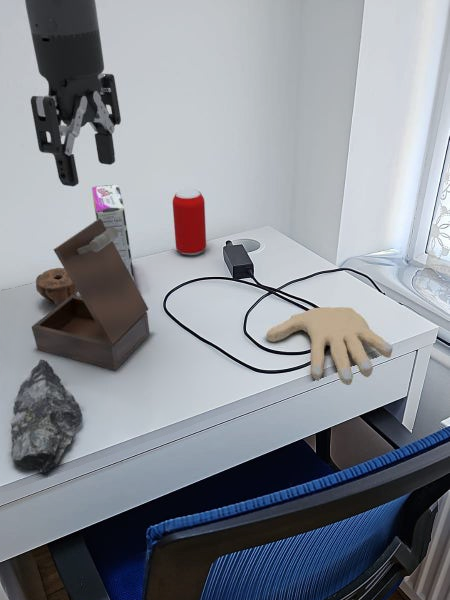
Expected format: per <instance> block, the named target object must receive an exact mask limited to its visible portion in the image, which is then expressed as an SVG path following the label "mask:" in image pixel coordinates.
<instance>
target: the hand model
mask: <svg viewBox="0 0 450 600" xmlns="http://www.w3.org/2000/svg"><path fill="white" fill-rule="evenodd" d="M298 331H304V332H305V333H307V334H308V336H309V338H310V340H311V345H310V371H311V376H312V377H313V379H314V380H315V381H317V382H319V381H320V380H321V378H322V376H323V373H324V363H325V347H326V346H329V347H330V355H331V359H332V360H333V363H334V365H335V367H336V370H337V374H338V377H339V380H340V381H341V383H343V384H344V385H347V386H350V385H351V384H352V382H353V378H354V374H353V372H352V371H353V370H352V367H351V362H350V359H349V355H350V357H351V359H352V361H353V362H354V364H355V365H356V366H357V368H358V370H359V374H361V375H362V376H363V377H365V378H369V377H370V376H371V375H372V373H373V370H374V366H373V363H372V361H371V360H370V358H369V357H368V355H367V352H366V351H365V348H364V345H363V343H364V344H365V345H367V346H368V347H371V348H374V349H375V350H376V351H377V352H378V353H379V354H380V355H381V356H382V357H384V358H387V359H388V358H389V359H390V358H391V356H392V352H393V346H392V345H391V344H390V343H389V342H388V341H386V340H384V339H383V337H382V336H380V335H379V334H376V333H375V332H374V331H373V330H372V329H371V328H370V326H369V324H368V323H367V321H366V319H365V318H364V317H363V316H362V315H361V314H359V313H358V312H356V311H355V309H353V308H352V307H343V306H340V307H339V306H338V307H323V306H322V307H314V308H310V309H308V310H306V311H303V312H301V313H298V314H293V315H291V316H290V318H289V319H287V320H285V321H284V322H282V323H280V324H277V325H276V326H274V327H273V326H272V327H271V328H270V329H268V331H267V332H266V339H267V341H268V342H278V341H281V340H283V339H285V338H287V337H288V336H290V335H292V334H293V333H295V332H298ZM348 353H349V355H348Z"/></svg>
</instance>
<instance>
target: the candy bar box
mask: <svg viewBox="0 0 450 600" xmlns="http://www.w3.org/2000/svg"><path fill="white" fill-rule="evenodd" d="M91 192H92V193H91V194H92V201H93V206H94V213H95V219H96V220H98V219H101V220H102V222H103V224H104V226H105V228H106V230H108V229H109V228H110V227H114V228H115V229H116V230H117V231H118V237H117V238H116V239H114V240H113V243H114V245H115V247H116V249H117V250H118V252H119V254H120V256H121V258H122V260H123V262H124V264H125V266H126V267H127V269H128V271H129V273H130V275H131V277H132V279H133V281H134V282H135V283H136V281H135V274H134V266H133V260H132V259H133V258H132V253H131V246H130V238H129V232H128V226H127V225H128V224H127V220H126V219H127V218H126V212H125V205H124V200H123V198H122V197H123V196H122V193H121V189H120V186H119V184H110V185H108V184H107V185H96V186H92V187H91ZM96 220H95V221H96Z"/></svg>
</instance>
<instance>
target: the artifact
mask: <svg viewBox="0 0 450 600" xmlns="http://www.w3.org/2000/svg"><path fill="white" fill-rule="evenodd" d="M35 289H36V291H37V292H38V293H39V295H40V296H42V297H43V298H44V299H45V300H46V302H47V303H53V302H54V305H55V306H56V307H57V306H58V305H60V304H61V303H62V302H63V301H65V300H66V299H67V298H68V297H69V296H71V295H74V296H77V294H78V291H77V289H76V287H75V286H74V284H73V282H72V281H71V279H70V277H69V276H68V274H67V272H66V270H65V269H64V267H56V268H50V269H48V270H46V271H43V272H42V273H41V274H39V275H37V277H36V279H35Z"/></svg>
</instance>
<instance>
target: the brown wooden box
mask: <svg viewBox="0 0 450 600" xmlns="http://www.w3.org/2000/svg"><path fill="white" fill-rule="evenodd" d="M31 331H32V335H33V338H34V341H35V345H36V349H37V350H38V351H42V352H45V353H50V354H53V355H56V356H61V357H64V358H68V359H71V360H76V361H79V362H82V363H86V364H90V365H94V366H97V367H101V368H104V369H108V370H112V371H117V370H118V369H119V368H120V367H121V366H122V364H124V362H126V361H127V359H128V358H129V357H130V356H131V355H132V354H133V353H134V352H135V351H136V350H137V349H138V348H139V347H140V346H141V345H142V344H143V342H144V341H146V340H147V338H148V337H149V336H150V325H149V316H148V311H146V312H145V313H144V314H143V315H142V316H141V317H140V318H139V319H138V320H137V321H136V322H135V323H134V324H133V325H132V326H131V327H130V328H129V329H128V330H127V331H126V332H125V333H124V334H123V335H122V336H121V337H120V338H119V339H118V340H117V341H116V342H115V343H114V344H113V345H109V344H108V342H107V340H106V339H105V337H104V335H103V334H102V332H101V330H100V329H99V327H98V325H97V323H96V322H95V320H94V318H93V317H92V315H91V313H90V311H89V310H88V308H87V306H86V305H85V303H84V301H83V299H82V298H81V296H78V295H75V296H74V295H71V296H69V297H68V298H67V299H66V300H65V301H63V302H62V303H61V304H60V305H58V306H57V305H56V306H55V308H53V309H52V310H51V311H49V312H48V313H47V314H46V315H45V316H43V317H42V318H40V319H39V320H38V321H37V322H36V323H34V324H33V325H32V326H31Z"/></svg>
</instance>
